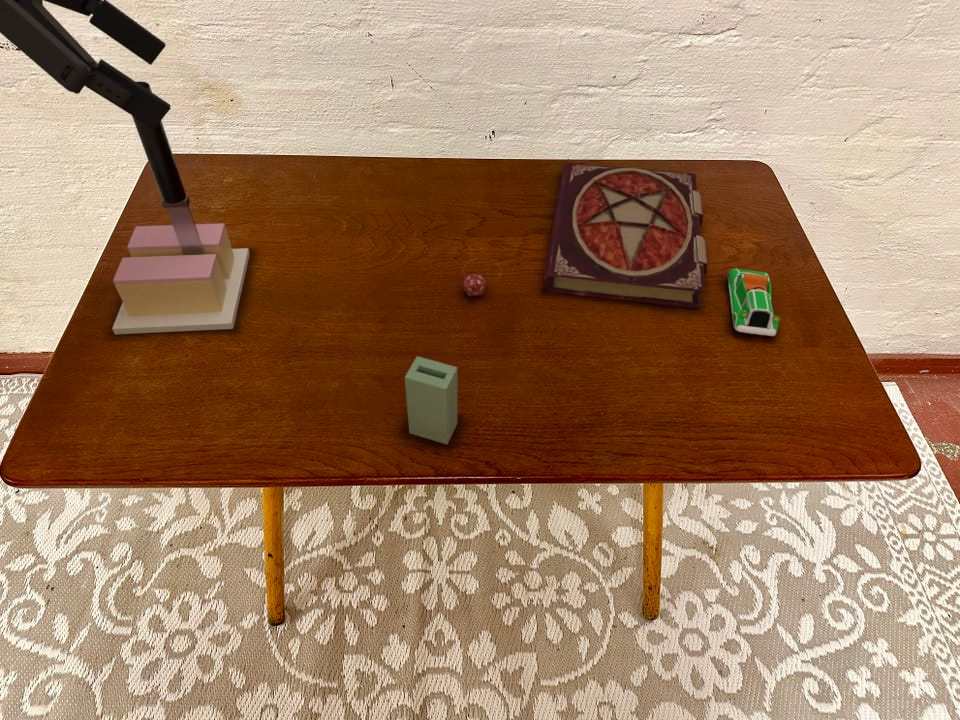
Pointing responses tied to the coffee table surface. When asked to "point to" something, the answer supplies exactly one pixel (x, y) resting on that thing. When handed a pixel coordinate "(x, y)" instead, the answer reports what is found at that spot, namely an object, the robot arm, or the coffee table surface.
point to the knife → (169, 184)
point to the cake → (179, 282)
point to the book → (628, 236)
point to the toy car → (752, 302)
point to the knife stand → (432, 399)
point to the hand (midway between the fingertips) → (160, 84)
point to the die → (474, 284)
